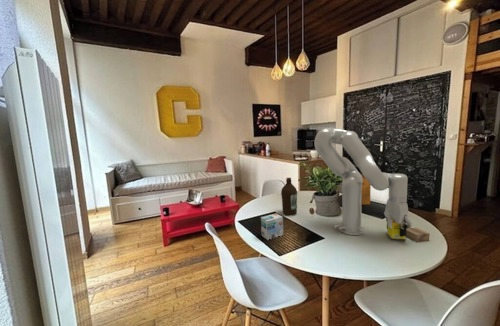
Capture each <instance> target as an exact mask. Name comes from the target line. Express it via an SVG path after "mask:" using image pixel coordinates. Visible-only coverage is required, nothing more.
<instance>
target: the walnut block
mask: <svg viewBox="0 0 500 326" xmlns="http://www.w3.org/2000/svg"><path fill="white" fill-rule="evenodd" d="M430 236H431V235H430V232H428V231H426V230H423V229H421V228H419V227H411V228H409V229H407V230H406V236H405V238H408V239H409V240H411V241H413V242H415V243H422V242H430Z"/></svg>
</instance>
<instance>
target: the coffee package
mask: <svg viewBox="0 0 500 326" xmlns="http://www.w3.org/2000/svg"><path fill="white" fill-rule="evenodd" d="M361 176H362V178H363V183H362V190H361V206H363V205H364V206H365V205H371V189H372V188H371V187H372V186H371V185H370V183H369V182H368V181H367V179H366V178H365V177H364V175H363V174H361Z"/></svg>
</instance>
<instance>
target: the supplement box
mask: <svg viewBox="0 0 500 326" xmlns="http://www.w3.org/2000/svg"><path fill="white" fill-rule="evenodd" d="M403 222H404V220H403ZM403 226H404V223H403ZM400 228H401V227H400V224H398V223H396V222H395V219H393V218H391V219H388V229H387V234H386V235H387V236H388V237H389V238H390V240H391V241H406V236H402V237H401V236H400Z"/></svg>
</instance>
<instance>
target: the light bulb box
mask: <svg viewBox="0 0 500 326" xmlns="http://www.w3.org/2000/svg"><path fill="white" fill-rule="evenodd" d="M260 225H261V226H260V227H261V228H260V231H261V236H262V237H263V238H264V239H266V241H270V240H273V239H275V237H276V238H279V237H278V236H280V237H283V236H284V217H283V216H282V215H280V214H278V213H273V214H269V215H264V216H260ZM282 235H283V236H282ZM272 238H273V239H272ZM269 239H270V240H269Z"/></svg>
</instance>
